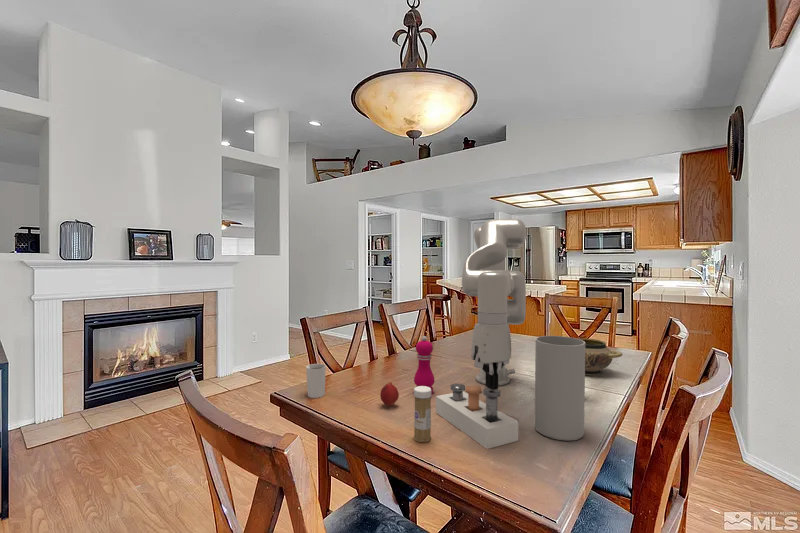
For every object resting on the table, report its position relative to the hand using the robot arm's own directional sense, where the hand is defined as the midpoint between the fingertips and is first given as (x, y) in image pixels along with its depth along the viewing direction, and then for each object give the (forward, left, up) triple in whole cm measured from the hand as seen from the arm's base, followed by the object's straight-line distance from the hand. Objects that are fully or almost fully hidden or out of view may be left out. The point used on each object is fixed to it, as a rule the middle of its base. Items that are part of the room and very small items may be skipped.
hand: (491, 387), depth 102 cm
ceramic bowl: (-73, -29, -14) cm, 79 cm away
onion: (+16, -31, -14) cm, 37 cm away
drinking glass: (+35, -51, -14) cm, 63 cm away
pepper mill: (0, -37, -14) cm, 39 cm away
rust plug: (0, -8, -11) cm, 13 cm away
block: (0, -8, -13) cm, 15 cm away
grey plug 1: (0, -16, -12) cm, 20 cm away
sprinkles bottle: (+17, -7, -14) cm, 23 cm away
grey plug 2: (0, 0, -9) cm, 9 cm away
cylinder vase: (-19, +5, -14) cm, 24 cm away
